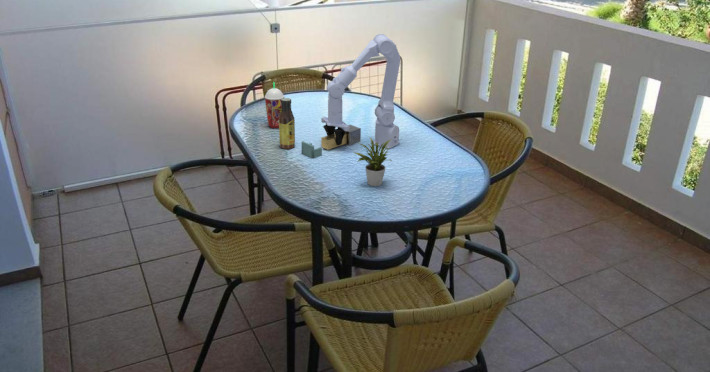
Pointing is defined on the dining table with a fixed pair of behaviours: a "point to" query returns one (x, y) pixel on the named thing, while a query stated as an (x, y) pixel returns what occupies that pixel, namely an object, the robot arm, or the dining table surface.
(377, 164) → the house plant
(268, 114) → the smoothie
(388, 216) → the dining table surface
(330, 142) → the block
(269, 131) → the dining table surface
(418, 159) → the dining table surface
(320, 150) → the socket
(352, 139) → the sleeve
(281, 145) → the sauce bottle
